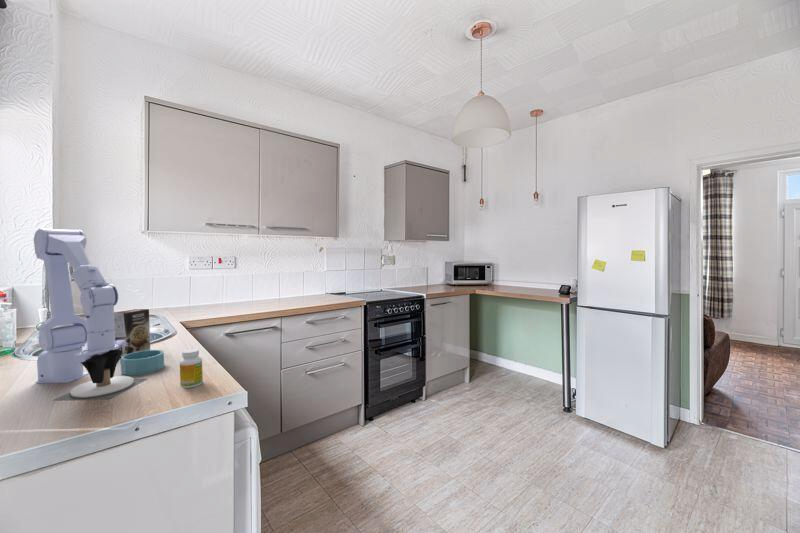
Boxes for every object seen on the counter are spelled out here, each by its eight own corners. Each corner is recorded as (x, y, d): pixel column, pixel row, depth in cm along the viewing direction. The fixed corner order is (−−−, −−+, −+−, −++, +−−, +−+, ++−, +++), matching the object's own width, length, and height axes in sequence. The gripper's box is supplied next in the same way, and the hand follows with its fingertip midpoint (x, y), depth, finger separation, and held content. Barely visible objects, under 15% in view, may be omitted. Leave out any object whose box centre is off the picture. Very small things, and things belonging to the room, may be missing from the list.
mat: (52, 401, 87) (52, 400, 87) (98, 380, 101) (98, 379, 101) (109, 400, 88) (109, 398, 88) (147, 379, 102) (147, 378, 102)
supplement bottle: (198, 387, 96) (197, 352, 95) (176, 389, 95) (175, 354, 94) (205, 380, 101) (204, 347, 100) (185, 381, 100) (184, 348, 99)
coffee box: (128, 358, 122) (126, 313, 121) (113, 357, 123) (111, 312, 123) (151, 351, 131) (149, 308, 130) (137, 350, 132) (135, 308, 132)
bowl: (112, 376, 104) (111, 360, 104) (138, 365, 115) (137, 350, 115) (149, 376, 105) (148, 359, 104) (171, 364, 115) (171, 349, 115)
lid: (56, 398, 88) (55, 379, 87) (98, 379, 101) (97, 362, 100) (109, 397, 88) (108, 378, 88) (144, 378, 101) (144, 362, 101)
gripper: (93, 337, 87) (96, 390, 87) (135, 324, 101) (137, 370, 102) (64, 337, 86) (67, 391, 87) (110, 324, 101) (112, 371, 101)
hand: (103, 380), depth 94 cm, fingers closed on lid, 3 cm apart
